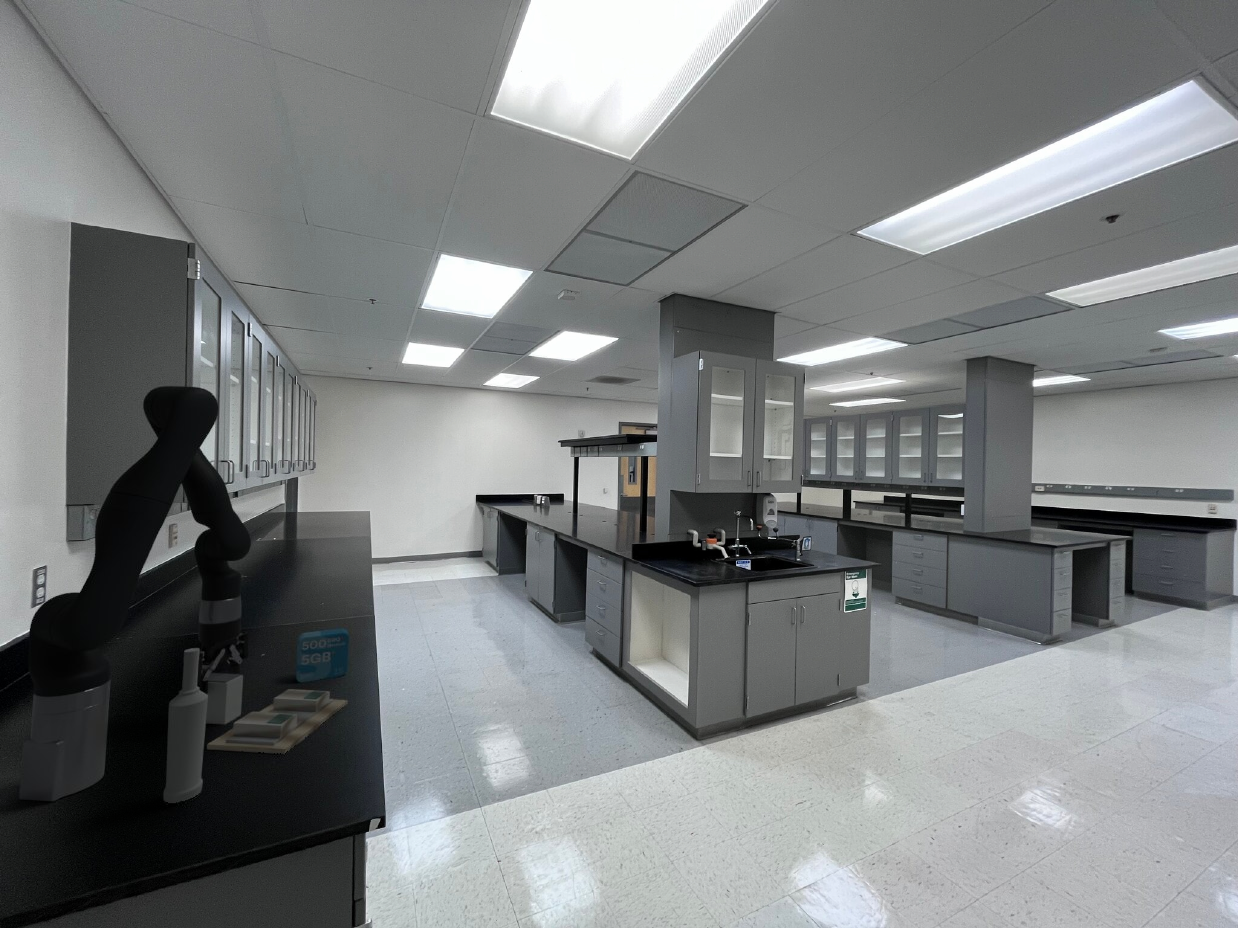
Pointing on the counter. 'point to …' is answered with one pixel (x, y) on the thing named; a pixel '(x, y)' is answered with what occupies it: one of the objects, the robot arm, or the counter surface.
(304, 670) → the data package
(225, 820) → the counter surface
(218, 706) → the block
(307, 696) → the rail board
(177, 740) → the bottle
